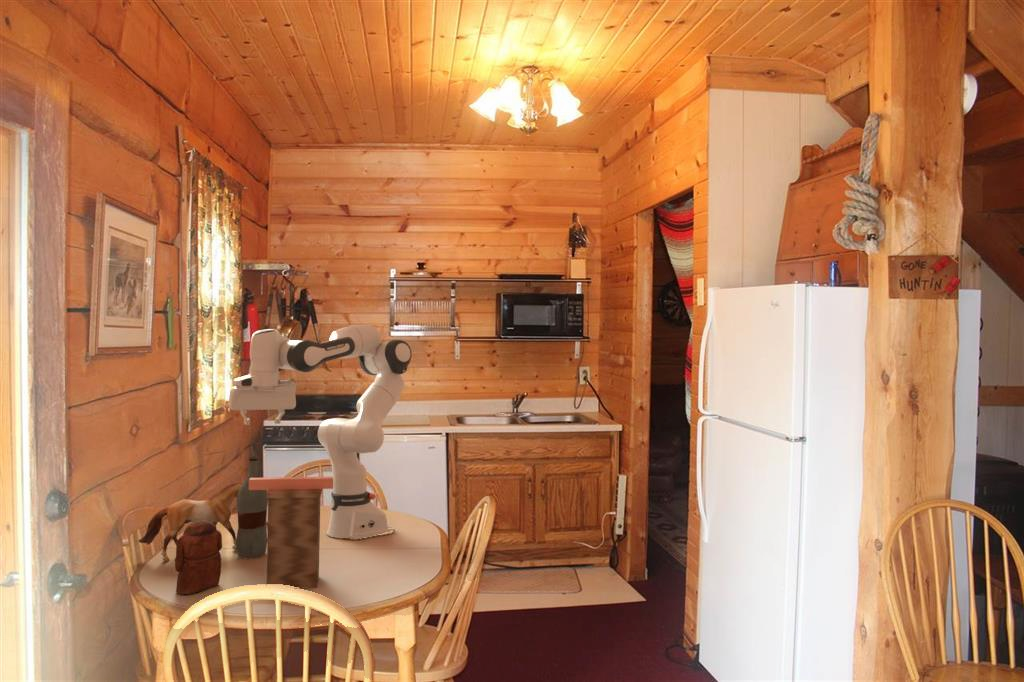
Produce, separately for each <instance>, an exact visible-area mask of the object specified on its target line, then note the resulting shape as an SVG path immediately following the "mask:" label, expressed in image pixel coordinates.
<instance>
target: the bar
mask: <svg viewBox="0 0 1024 682" xmlns="http://www.w3.org/2000/svg"><path fill="white" fill-rule="evenodd" d="M285 489H323V490H333V476H291V477H290V476H288V477H287V476H284V477H281V476H280V477H277V476H276V477H274V476H273V477H260V478H250V479H249V490H285Z"/></svg>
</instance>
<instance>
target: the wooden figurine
mask: <svg viewBox="0 0 1024 682" xmlns="http://www.w3.org/2000/svg"><path fill="white" fill-rule="evenodd" d="M222 538H223V535H222V532H221V531H220V530H218V529H217V525H216V526H215V525H214V524H213V523H211V522H209V521H204V520H200V521H196V522H190V524H189V525H187V526H186V527H185V529H184V531H183V532H182V536H180V537H179V538H177V540H178V541H177V546H176V549H175V559H174V567H175V571H176V572H178V574H177V579H176V587H175V588H176V589H175V593H176V592H177V593H176V594H178V593H179V595H183V594H187V595H191V594H192V593H193V594H196V592H197V593H199V591H200V592H202V591H205V590H207V589H210V588H213V587H217V586H218V585H219V583H220V579H221V573H222V556H221V552H220V551H221V550H222V548H223V539H222ZM193 594H192V595H193Z"/></svg>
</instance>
